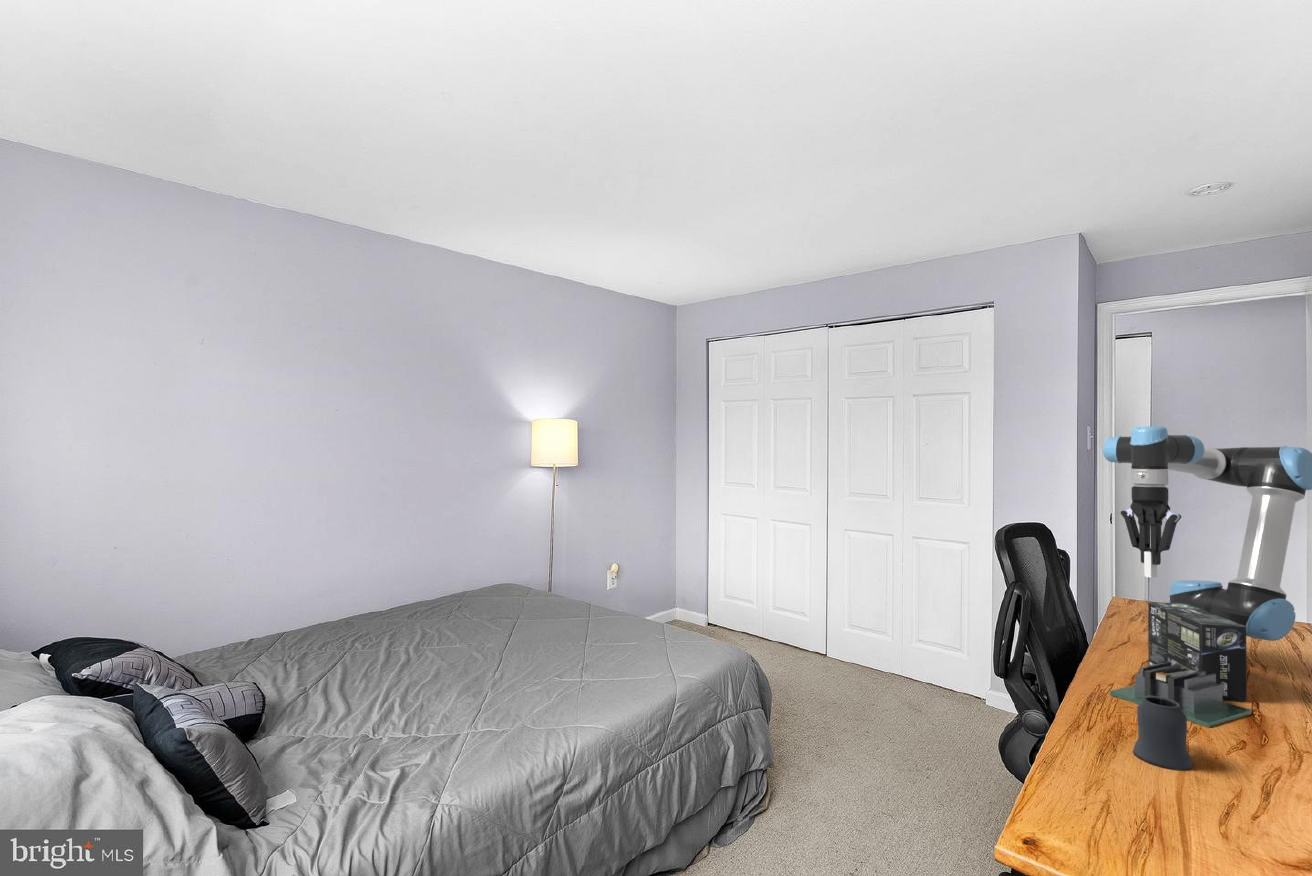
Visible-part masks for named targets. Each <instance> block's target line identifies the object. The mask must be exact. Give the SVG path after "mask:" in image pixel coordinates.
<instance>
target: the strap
mask: <svg viewBox="0 0 1312 876" xmlns="http://www.w3.org/2000/svg"><path fill="white" fill-rule="evenodd" d="M1194 672H1198V671H1196V670H1192V669H1189V670H1186V671H1180V672H1174V673H1168V674H1166V673H1162V672H1159V673H1156V679H1158V680H1161V681H1165V682H1167V681H1168V677H1177V676H1181V675H1185V674H1189V673H1194Z"/></svg>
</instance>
